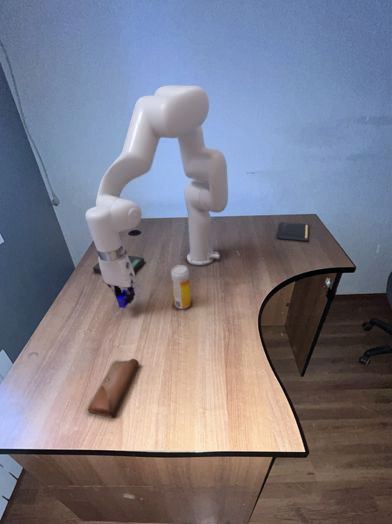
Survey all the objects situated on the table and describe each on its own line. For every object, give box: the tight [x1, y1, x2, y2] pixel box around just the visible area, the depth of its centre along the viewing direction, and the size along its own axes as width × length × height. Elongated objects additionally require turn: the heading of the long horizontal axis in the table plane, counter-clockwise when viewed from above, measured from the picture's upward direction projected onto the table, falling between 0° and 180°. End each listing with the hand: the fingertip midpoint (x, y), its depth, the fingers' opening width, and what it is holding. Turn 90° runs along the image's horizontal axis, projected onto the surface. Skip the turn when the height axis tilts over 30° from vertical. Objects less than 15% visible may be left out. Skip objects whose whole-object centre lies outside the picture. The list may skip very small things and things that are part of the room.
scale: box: [92, 254, 146, 275], centre depth 119 cm, size 18×14×3 cm
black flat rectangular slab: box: [277, 221, 310, 243], centre depth 138 cm, size 20×2×15 cm
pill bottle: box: [170, 264, 191, 310], centre depth 94 cm, size 6×6×15 cm
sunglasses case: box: [86, 358, 140, 419], centre depth 74 cm, size 18×7×7 cm
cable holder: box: [115, 287, 136, 309], centre depth 93 cm, size 8×4×4 cm, turn 161°
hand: (125, 299), depth 94 cm, fingers closed on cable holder, 3 cm apart
